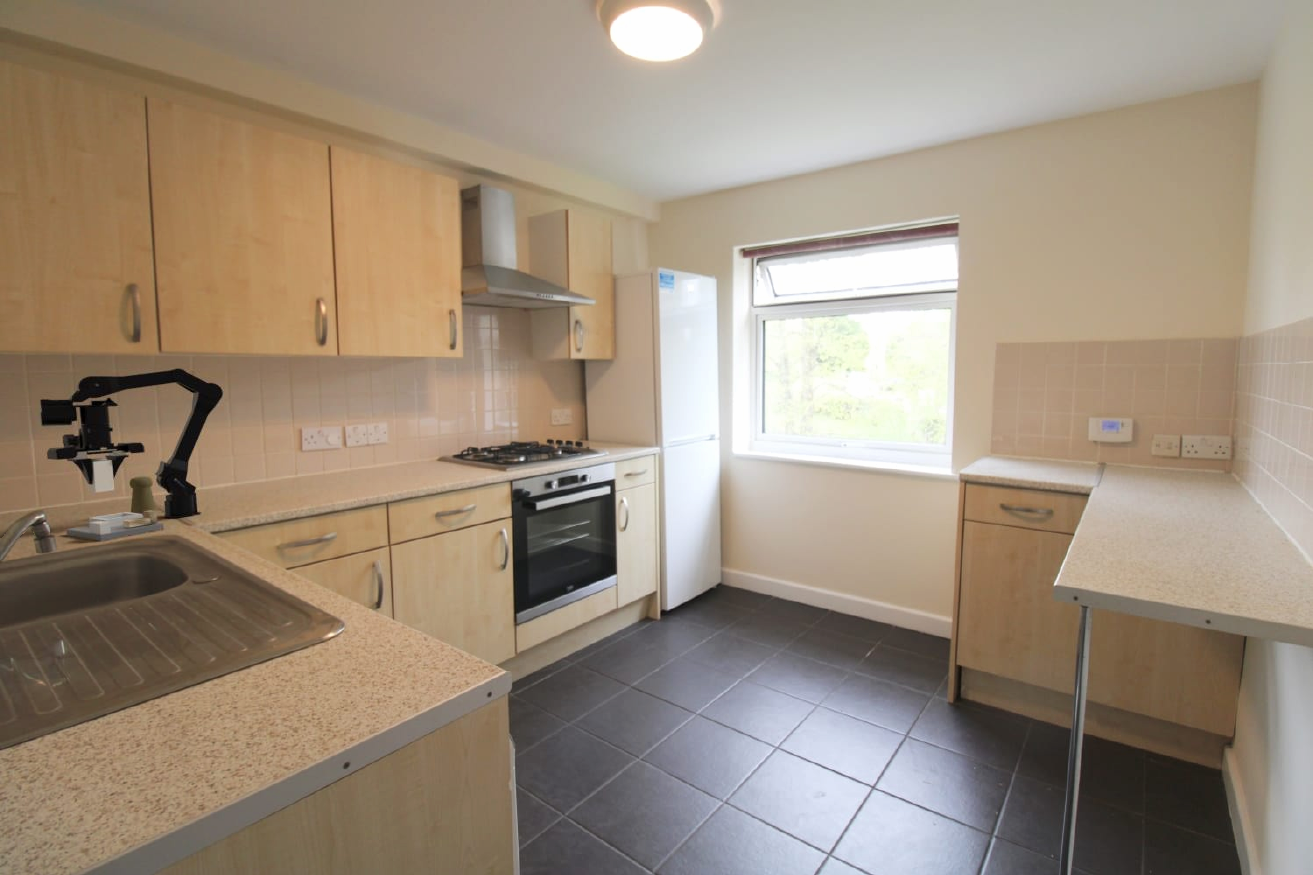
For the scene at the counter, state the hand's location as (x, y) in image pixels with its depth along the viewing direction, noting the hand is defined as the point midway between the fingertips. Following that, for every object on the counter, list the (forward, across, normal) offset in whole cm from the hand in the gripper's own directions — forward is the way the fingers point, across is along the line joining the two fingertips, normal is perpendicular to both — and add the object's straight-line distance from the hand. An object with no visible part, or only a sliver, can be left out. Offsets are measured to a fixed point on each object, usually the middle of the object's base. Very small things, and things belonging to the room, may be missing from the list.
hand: (100, 483), depth 166 cm
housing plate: (+12, +3, +12) cm, 17 cm away
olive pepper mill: (+12, -13, -9) cm, 20 cm away
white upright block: (+2, 0, 0) cm, 2 cm away
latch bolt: (+10, 0, +18) cm, 20 cm away
